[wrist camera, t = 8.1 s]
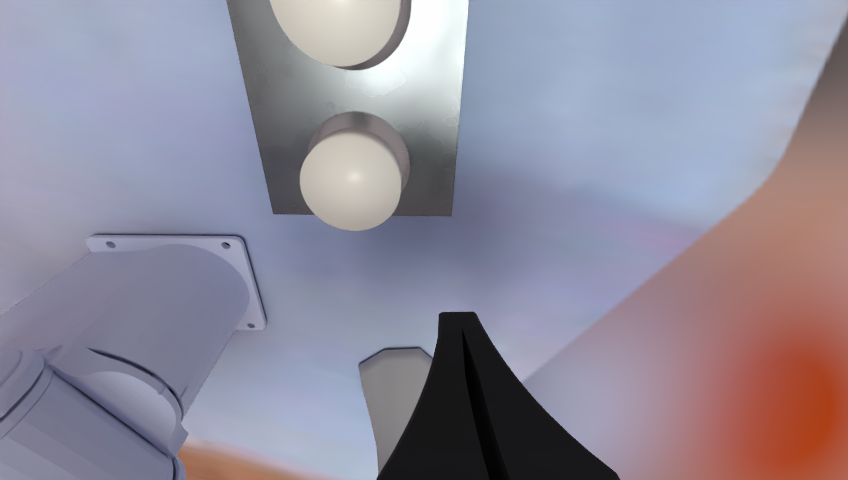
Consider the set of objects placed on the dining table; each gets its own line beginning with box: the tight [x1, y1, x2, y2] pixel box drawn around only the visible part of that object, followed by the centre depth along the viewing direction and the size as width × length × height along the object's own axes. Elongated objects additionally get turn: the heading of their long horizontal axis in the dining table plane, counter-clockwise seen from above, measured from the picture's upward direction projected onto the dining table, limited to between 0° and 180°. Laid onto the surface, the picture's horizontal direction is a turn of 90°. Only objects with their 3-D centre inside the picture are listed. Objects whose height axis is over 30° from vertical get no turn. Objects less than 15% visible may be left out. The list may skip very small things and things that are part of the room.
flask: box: [358, 349, 433, 475], centre depth 26 cm, size 7×7×10 cm
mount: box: [227, 0, 469, 216], centre depth 15 cm, size 10×20×2 cm, turn 178°
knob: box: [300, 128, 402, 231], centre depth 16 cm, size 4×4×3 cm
